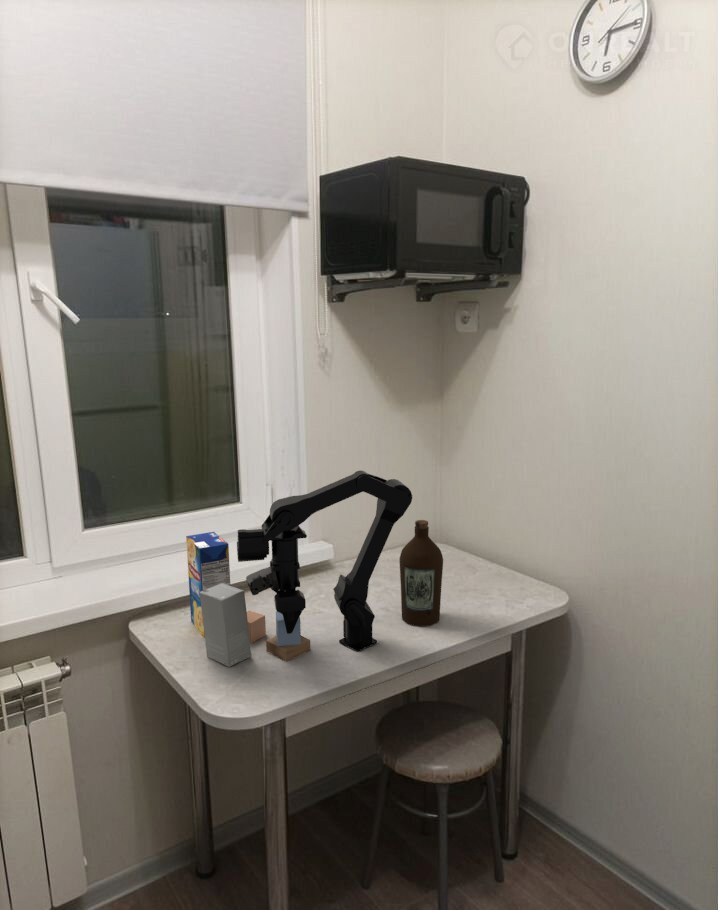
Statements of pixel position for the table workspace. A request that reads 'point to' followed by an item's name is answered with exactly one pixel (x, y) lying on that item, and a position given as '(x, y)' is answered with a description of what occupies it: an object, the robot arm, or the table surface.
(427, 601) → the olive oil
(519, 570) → the table surface
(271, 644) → the walnut slab
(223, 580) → the beverage box
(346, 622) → the robot arm
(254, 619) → the terracotta block
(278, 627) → the slate block
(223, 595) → the skincare box
